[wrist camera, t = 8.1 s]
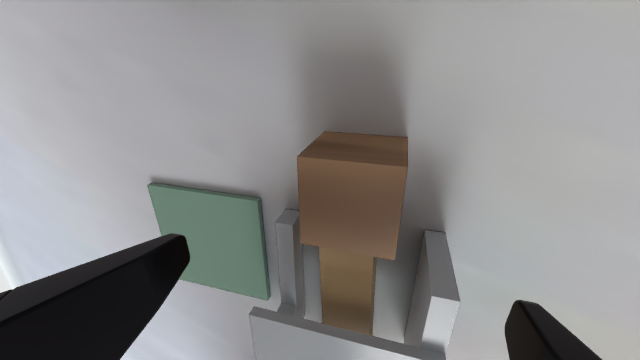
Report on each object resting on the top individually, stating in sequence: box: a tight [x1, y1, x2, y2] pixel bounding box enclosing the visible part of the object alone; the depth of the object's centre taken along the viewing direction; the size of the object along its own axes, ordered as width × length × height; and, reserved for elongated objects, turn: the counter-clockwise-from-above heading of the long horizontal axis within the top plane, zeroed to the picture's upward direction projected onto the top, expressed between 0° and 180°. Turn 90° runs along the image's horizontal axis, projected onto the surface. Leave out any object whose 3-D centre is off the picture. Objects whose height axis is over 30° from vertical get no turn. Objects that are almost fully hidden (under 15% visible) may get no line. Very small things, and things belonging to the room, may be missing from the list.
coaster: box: [147, 183, 270, 301], centre depth 19 cm, size 8×8×1 cm
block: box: [297, 131, 408, 260], centre depth 12 cm, size 4×4×4 cm
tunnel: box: [249, 209, 460, 360], centre depth 15 cm, size 8×9×5 cm
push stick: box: [319, 247, 377, 336], centre depth 17 cm, size 14×3×3 cm, turn 2°
